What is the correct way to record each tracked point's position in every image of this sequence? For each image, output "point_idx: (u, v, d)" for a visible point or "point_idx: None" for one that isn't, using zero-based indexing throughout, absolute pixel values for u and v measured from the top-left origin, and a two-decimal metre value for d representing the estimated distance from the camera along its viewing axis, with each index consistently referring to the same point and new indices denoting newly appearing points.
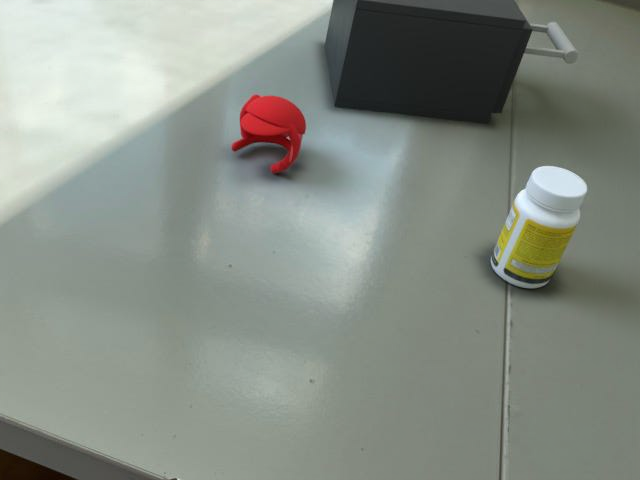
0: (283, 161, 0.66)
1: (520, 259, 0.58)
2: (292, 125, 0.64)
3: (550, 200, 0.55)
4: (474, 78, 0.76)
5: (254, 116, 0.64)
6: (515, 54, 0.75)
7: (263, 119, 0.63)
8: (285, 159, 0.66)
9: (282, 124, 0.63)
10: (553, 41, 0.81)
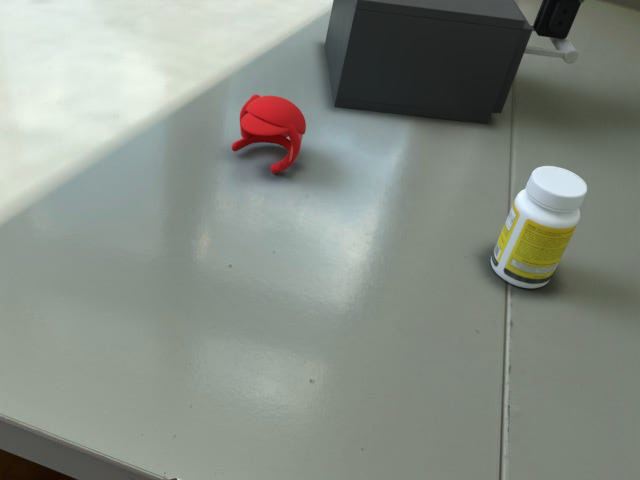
0: (283, 161, 0.66)
1: (520, 259, 0.58)
2: (292, 125, 0.64)
3: (550, 200, 0.55)
4: (474, 78, 0.76)
5: (254, 116, 0.64)
6: (515, 54, 0.75)
7: (263, 119, 0.63)
8: (285, 159, 0.66)
9: (282, 124, 0.63)
10: (553, 41, 0.81)
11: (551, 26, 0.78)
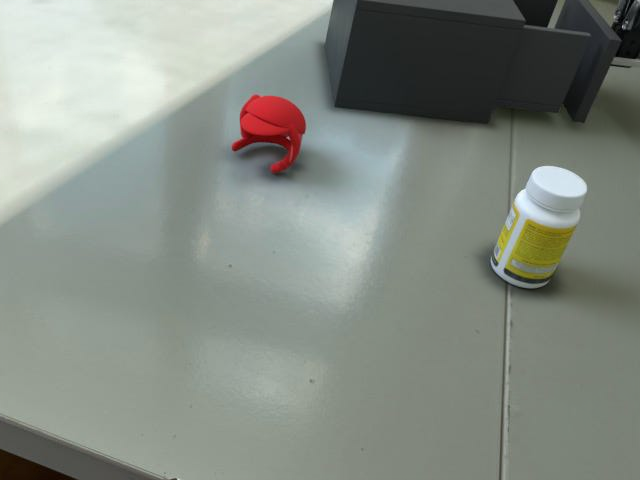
0: (283, 161, 0.66)
1: (520, 259, 0.58)
2: (292, 125, 0.64)
3: (550, 200, 0.55)
4: (474, 78, 0.76)
5: (254, 116, 0.64)
6: (602, 65, 0.75)
7: (263, 119, 0.63)
8: (285, 159, 0.66)
9: (282, 124, 0.63)
10: None
11: (618, 56, 0.80)
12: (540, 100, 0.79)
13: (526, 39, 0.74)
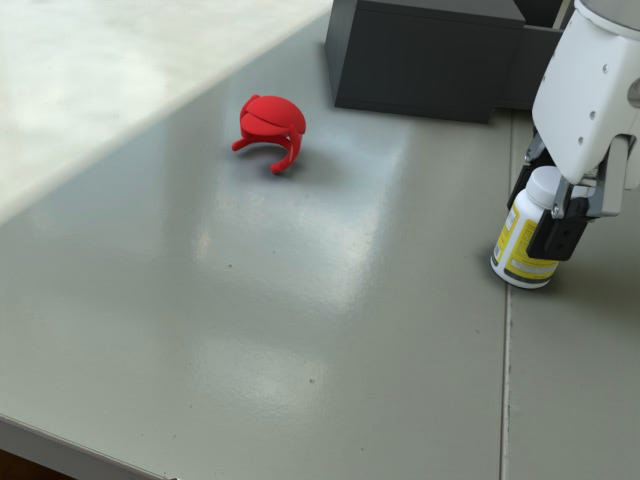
0: (283, 161, 0.66)
1: (520, 259, 0.58)
2: (292, 125, 0.64)
3: (550, 200, 0.55)
4: (474, 78, 0.76)
5: (254, 116, 0.64)
6: None
7: (263, 119, 0.63)
8: (285, 159, 0.66)
9: (282, 124, 0.63)
10: None
11: (547, 250, 0.55)
12: None
13: (532, 39, 0.74)
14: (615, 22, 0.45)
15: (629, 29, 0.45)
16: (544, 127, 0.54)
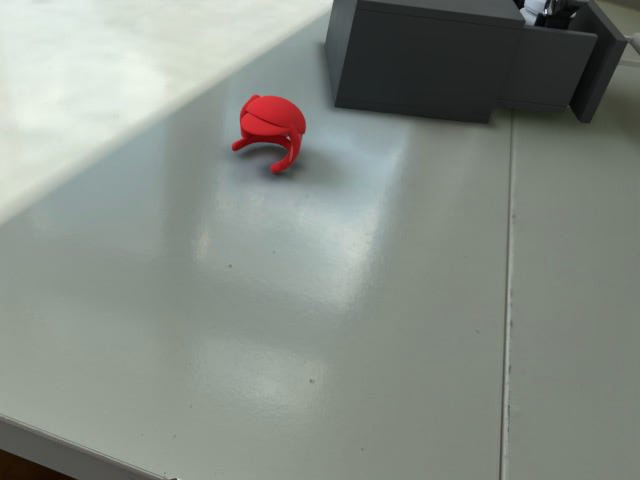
0: (283, 161, 0.66)
1: None
2: (292, 125, 0.64)
3: (541, 7, 0.76)
4: (474, 78, 0.76)
5: (254, 116, 0.64)
6: (609, 66, 0.75)
7: (263, 119, 0.63)
8: (285, 159, 0.66)
9: (282, 124, 0.63)
10: (639, 52, 0.82)
11: None
12: (546, 101, 0.79)
13: (533, 39, 0.75)
14: None
15: None
16: None
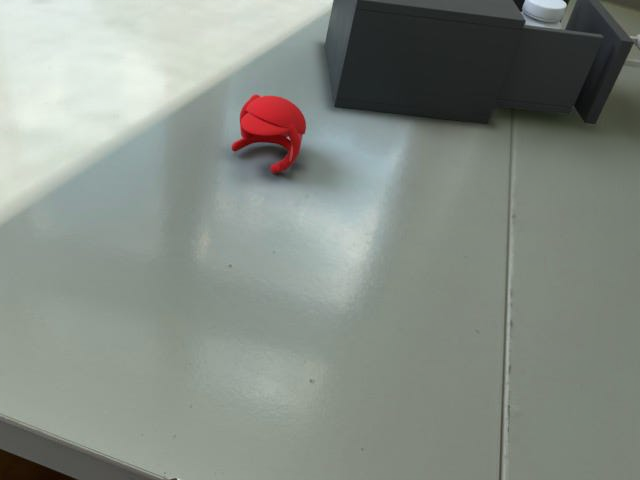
0: (283, 161, 0.66)
1: None
2: (292, 125, 0.64)
3: (539, 12, 0.76)
4: (474, 78, 0.76)
5: (254, 116, 0.64)
6: (614, 66, 0.76)
7: (263, 119, 0.63)
8: (285, 159, 0.66)
9: (282, 124, 0.63)
10: None
11: None
12: (552, 101, 0.79)
13: (539, 40, 0.75)
14: None
15: None
16: None
